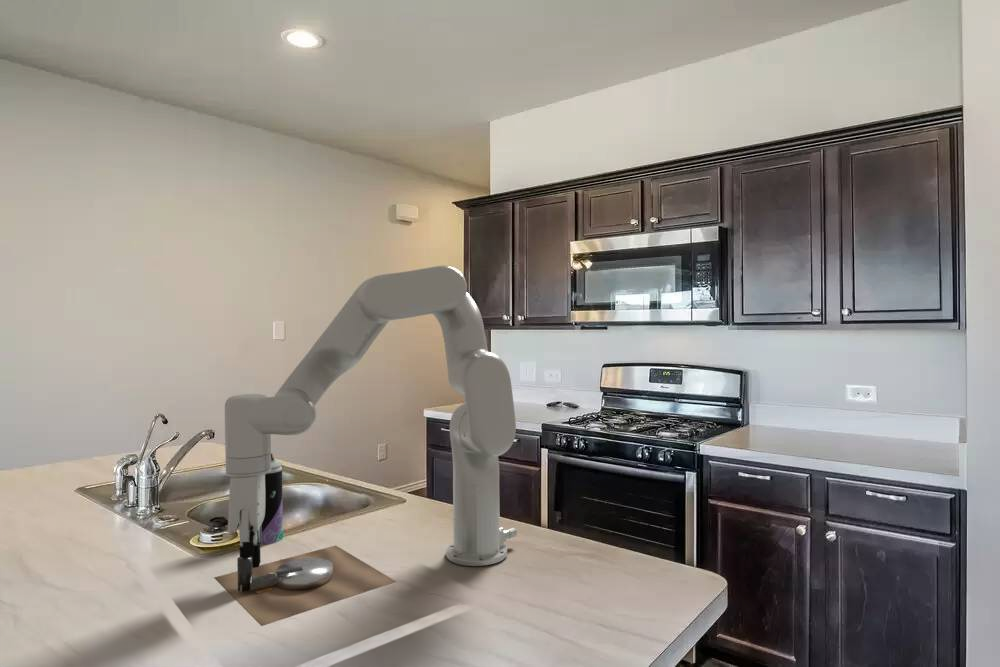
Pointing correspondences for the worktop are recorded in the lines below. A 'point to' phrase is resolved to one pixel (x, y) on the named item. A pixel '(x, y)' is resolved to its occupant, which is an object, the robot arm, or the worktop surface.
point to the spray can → (273, 506)
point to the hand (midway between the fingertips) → (250, 566)
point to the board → (284, 603)
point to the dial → (285, 574)
